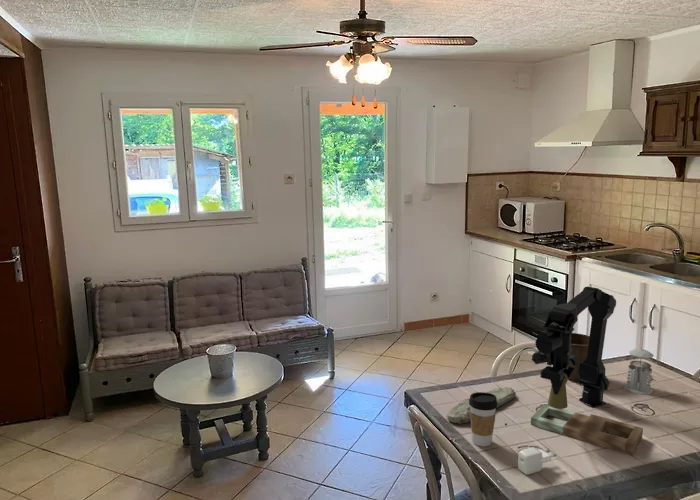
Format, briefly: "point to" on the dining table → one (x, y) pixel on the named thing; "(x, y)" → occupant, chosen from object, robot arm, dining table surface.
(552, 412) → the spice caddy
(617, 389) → the dining table surface
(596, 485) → the dining table surface
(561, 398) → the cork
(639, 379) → the french press
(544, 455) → the power adapter
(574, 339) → the plant pot
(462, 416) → the elongated rock
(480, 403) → the coffee cup
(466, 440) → the dining table surface
